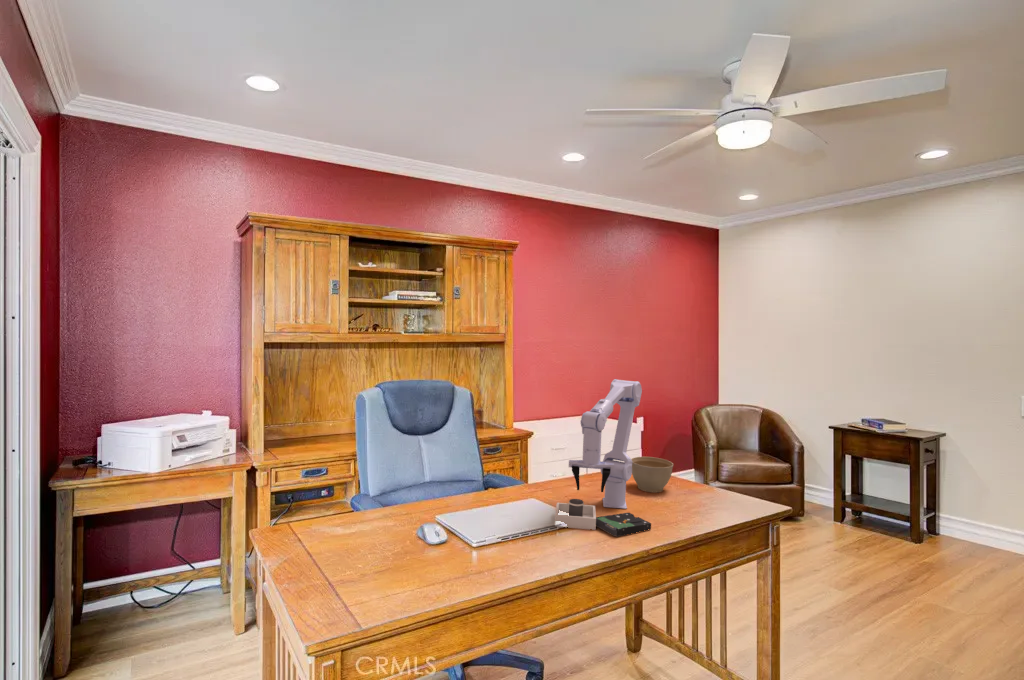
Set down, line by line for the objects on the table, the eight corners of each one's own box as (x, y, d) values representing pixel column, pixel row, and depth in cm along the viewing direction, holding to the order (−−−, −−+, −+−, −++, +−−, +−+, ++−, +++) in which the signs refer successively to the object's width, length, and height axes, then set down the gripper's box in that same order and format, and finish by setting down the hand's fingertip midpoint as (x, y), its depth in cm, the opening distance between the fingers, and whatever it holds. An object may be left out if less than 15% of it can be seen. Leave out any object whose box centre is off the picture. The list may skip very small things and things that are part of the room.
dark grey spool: (568, 516, 182) (569, 498, 182) (582, 517, 182) (583, 499, 182) (567, 521, 178) (568, 502, 178) (582, 522, 177) (583, 504, 177)
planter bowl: (621, 488, 218) (623, 461, 218) (641, 481, 230) (642, 454, 230) (660, 498, 208) (662, 469, 207) (678, 489, 220) (680, 462, 220)
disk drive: (627, 520, 184) (593, 525, 176) (628, 512, 184) (594, 516, 176) (651, 532, 175) (616, 537, 167) (652, 523, 175) (617, 528, 167)
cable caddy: (556, 512, 187) (556, 502, 187) (594, 516, 185) (595, 505, 185) (554, 526, 174) (555, 515, 174) (595, 530, 173) (596, 518, 173)
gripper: (568, 450, 179) (567, 492, 180) (615, 453, 177) (613, 495, 178) (569, 445, 186) (568, 485, 187) (614, 448, 184) (612, 489, 185)
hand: (590, 490), depth 183 cm, fingers open, 7 cm apart
